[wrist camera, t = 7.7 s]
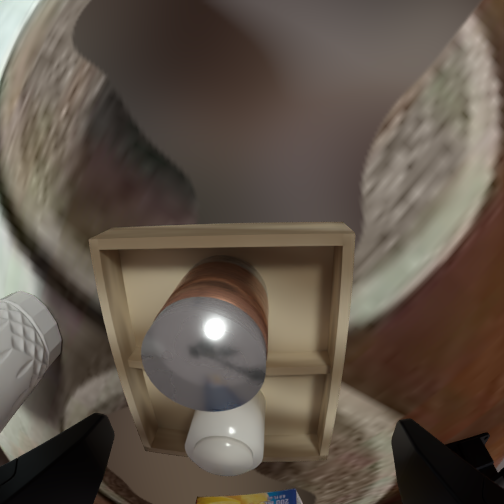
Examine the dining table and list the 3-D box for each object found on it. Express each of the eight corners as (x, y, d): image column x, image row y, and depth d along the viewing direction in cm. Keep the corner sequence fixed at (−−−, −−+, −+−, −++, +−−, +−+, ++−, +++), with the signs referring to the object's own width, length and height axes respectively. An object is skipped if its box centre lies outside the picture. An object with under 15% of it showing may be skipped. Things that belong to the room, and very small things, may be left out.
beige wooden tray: (323, 432, 23) (326, 459, 20) (155, 426, 24) (145, 450, 21) (342, 221, 18) (355, 233, 15) (112, 227, 19) (88, 239, 16)
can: (267, 253, 18) (266, 310, 11) (269, 335, 20) (267, 414, 13) (176, 254, 18) (128, 307, 12) (186, 334, 20) (153, 407, 13)
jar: (266, 424, 22) (263, 482, 17) (203, 422, 22) (189, 477, 17) (265, 377, 21) (262, 438, 15) (195, 375, 21) (176, 432, 16)
